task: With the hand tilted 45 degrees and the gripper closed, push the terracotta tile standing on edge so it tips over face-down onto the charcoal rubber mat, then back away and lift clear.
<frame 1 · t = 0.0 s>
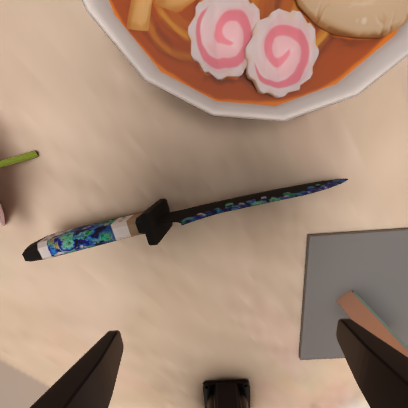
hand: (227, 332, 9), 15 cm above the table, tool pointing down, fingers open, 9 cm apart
knife: (195, 206, 23), on the table
mat: (378, 297, 26), on the table
tile: (361, 314, 26), resting on mat
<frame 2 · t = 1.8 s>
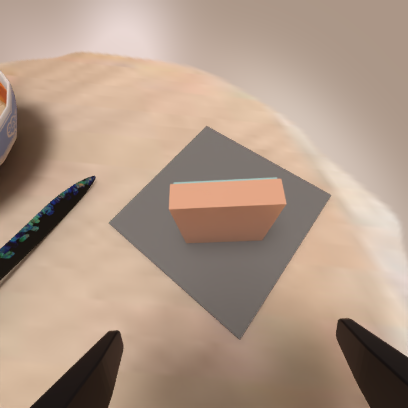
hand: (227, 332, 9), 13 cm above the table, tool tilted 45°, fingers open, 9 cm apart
knife: (1, 288, 23), on the table
mat: (219, 210, 25), on the table
tile: (223, 232, 23), resting on mat
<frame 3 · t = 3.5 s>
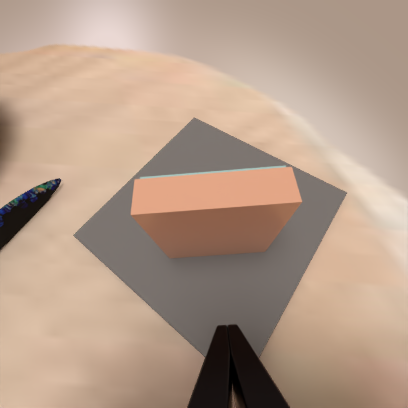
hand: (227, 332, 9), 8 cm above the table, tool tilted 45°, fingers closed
mat: (211, 216, 20), on the table
tile: (216, 243, 18), resting on mat
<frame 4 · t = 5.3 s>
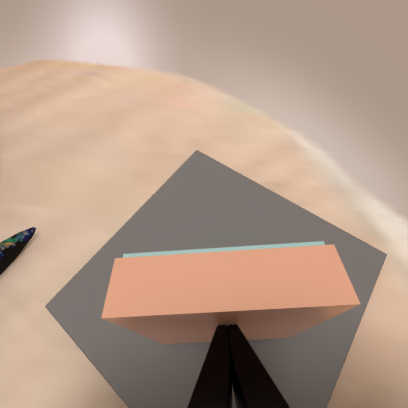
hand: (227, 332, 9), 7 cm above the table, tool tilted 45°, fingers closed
mat: (217, 281, 16), on the table
tile: (224, 323, 14), point 1 cm above the table, tilted 9°, touching mat
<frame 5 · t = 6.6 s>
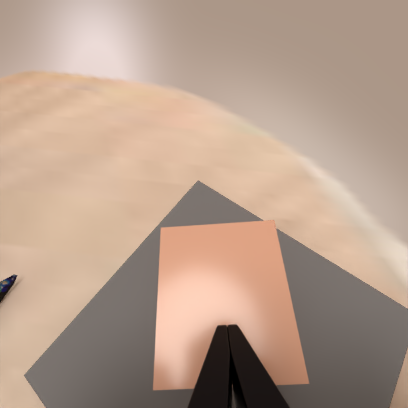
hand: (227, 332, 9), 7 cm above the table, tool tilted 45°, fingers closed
mat: (222, 344, 14), on the table
tile: (229, 381, 12), point 2 cm above the table, tilted 90°, touching mat
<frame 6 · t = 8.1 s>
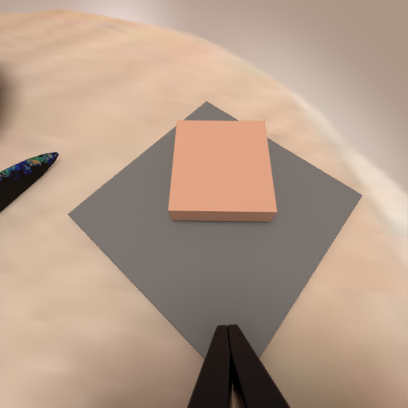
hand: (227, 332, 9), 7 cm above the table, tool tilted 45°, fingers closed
mat: (217, 207, 19), on the table
tile: (221, 216, 17), point 2 cm above the table, tilted 90°, touching mat
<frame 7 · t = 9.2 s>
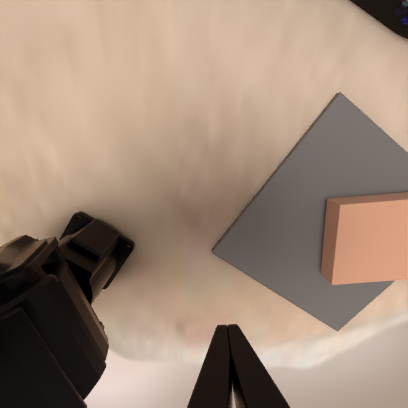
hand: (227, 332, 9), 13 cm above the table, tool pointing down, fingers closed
mat: (335, 230, 22), on the table
tile: (329, 242, 20), point 2 cm above the table, tilted 90°, touching mat
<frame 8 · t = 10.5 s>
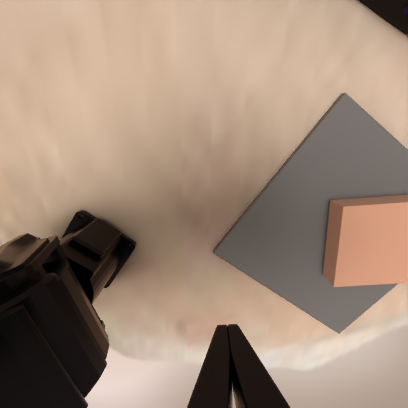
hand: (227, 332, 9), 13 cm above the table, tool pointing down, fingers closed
mat: (338, 232, 22), on the table
tile: (331, 244, 20), point 2 cm above the table, tilted 90°, touching mat
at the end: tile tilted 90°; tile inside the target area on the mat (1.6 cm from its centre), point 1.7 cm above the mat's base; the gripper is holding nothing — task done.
